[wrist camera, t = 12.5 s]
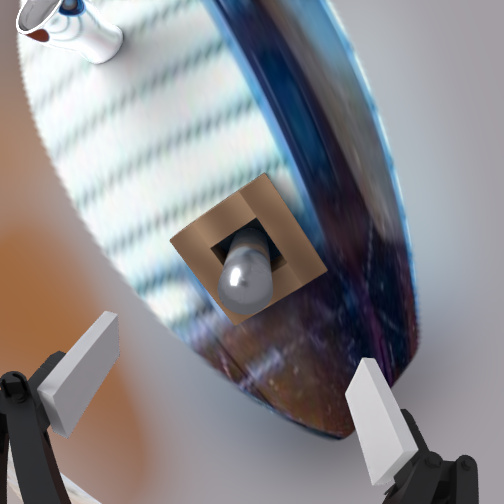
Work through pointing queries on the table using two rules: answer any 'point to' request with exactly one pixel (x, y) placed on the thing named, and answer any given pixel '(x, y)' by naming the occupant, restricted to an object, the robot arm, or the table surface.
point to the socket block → (234, 217)
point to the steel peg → (246, 274)
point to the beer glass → (70, 28)
